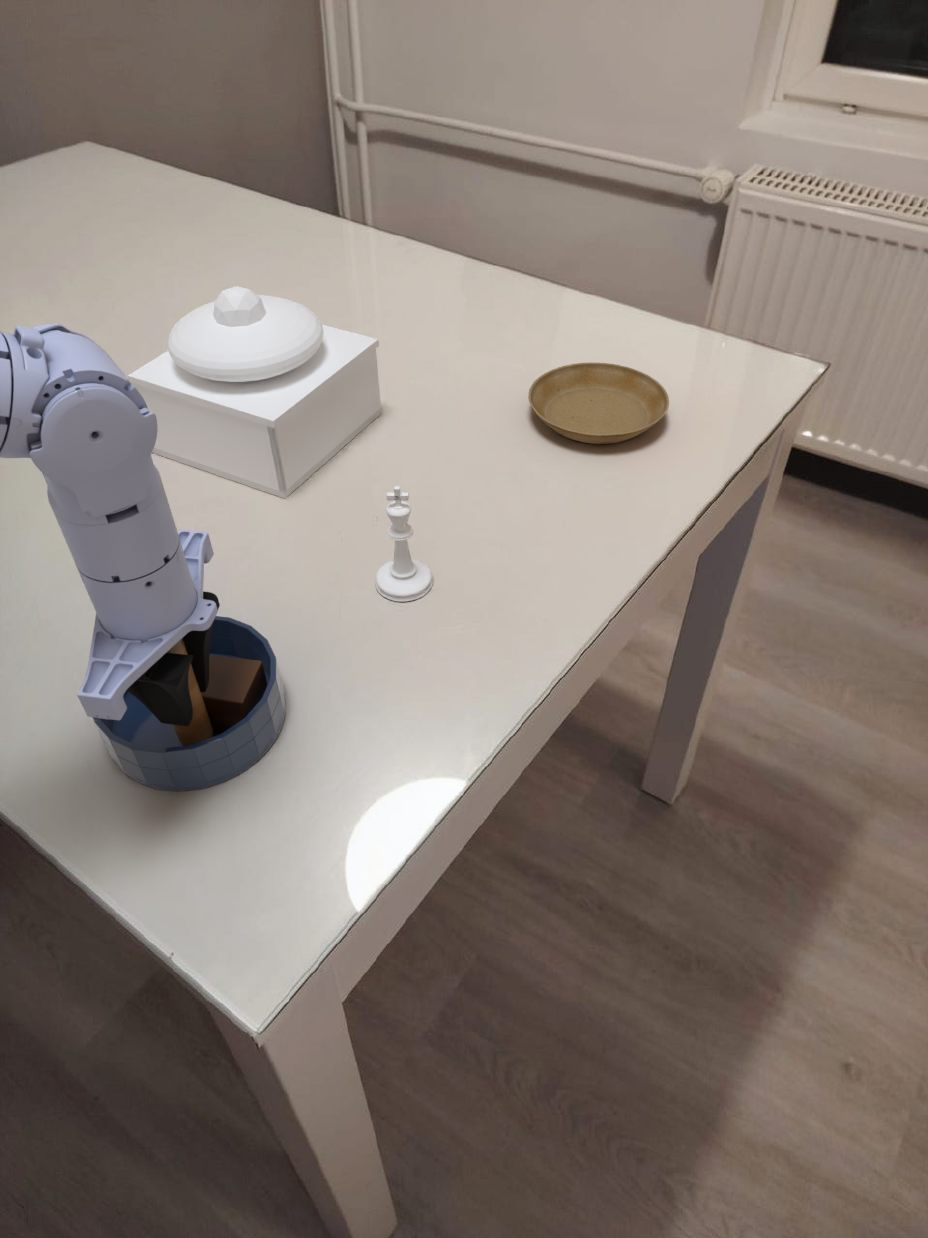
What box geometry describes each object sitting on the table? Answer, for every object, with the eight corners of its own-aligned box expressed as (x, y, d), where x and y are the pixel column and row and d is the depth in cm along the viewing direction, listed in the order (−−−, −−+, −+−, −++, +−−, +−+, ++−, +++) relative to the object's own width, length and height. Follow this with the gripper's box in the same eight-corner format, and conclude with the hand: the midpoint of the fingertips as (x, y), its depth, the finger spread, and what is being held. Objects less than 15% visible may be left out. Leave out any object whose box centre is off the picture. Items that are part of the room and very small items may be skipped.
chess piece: (431, 602, 73) (426, 507, 66) (373, 601, 73) (362, 506, 66) (434, 563, 76) (429, 469, 69) (378, 563, 77) (368, 469, 70)
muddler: (173, 746, 60) (129, 635, 52) (186, 719, 62) (145, 608, 54) (206, 750, 60) (166, 639, 52) (218, 723, 62) (182, 612, 54)
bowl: (77, 779, 61) (55, 739, 57) (152, 647, 70) (137, 607, 66) (252, 802, 59) (240, 763, 56) (306, 665, 68) (298, 624, 65)
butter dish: (253, 376, 100) (226, 235, 89) (385, 414, 94) (373, 269, 83) (147, 452, 89) (100, 302, 78) (288, 501, 83) (259, 346, 72)
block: (200, 731, 63) (187, 695, 60) (220, 689, 65) (209, 653, 63) (252, 738, 62) (242, 702, 59) (271, 696, 65) (262, 660, 62)
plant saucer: (581, 472, 86) (583, 449, 84) (501, 405, 95) (501, 384, 93) (694, 429, 91) (698, 408, 90) (608, 370, 101) (611, 349, 99)
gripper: (140, 649, 43) (201, 802, 53) (239, 480, 54) (274, 634, 63) (10, 634, 44) (92, 787, 54) (131, 470, 54) (183, 623, 64)
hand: (184, 703), depth 58 cm, fingers closed on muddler, 2 cm apart
